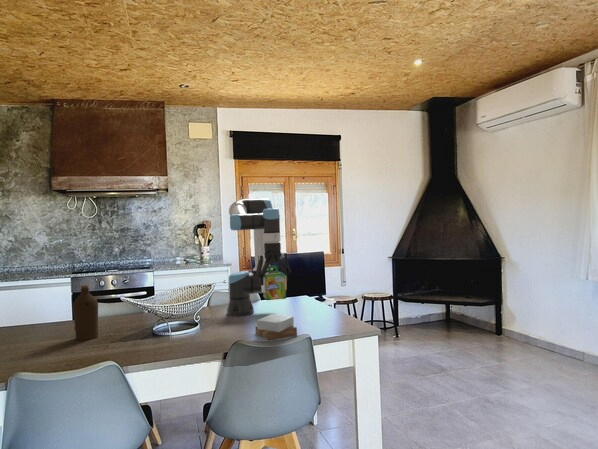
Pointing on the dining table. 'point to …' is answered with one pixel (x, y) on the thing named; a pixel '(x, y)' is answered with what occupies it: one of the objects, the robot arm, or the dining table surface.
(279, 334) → the walnut slab
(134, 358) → the dining table surface
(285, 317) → the grey slab
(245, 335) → the dining table surface
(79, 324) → the olive oil
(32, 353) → the dining table surface
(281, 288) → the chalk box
